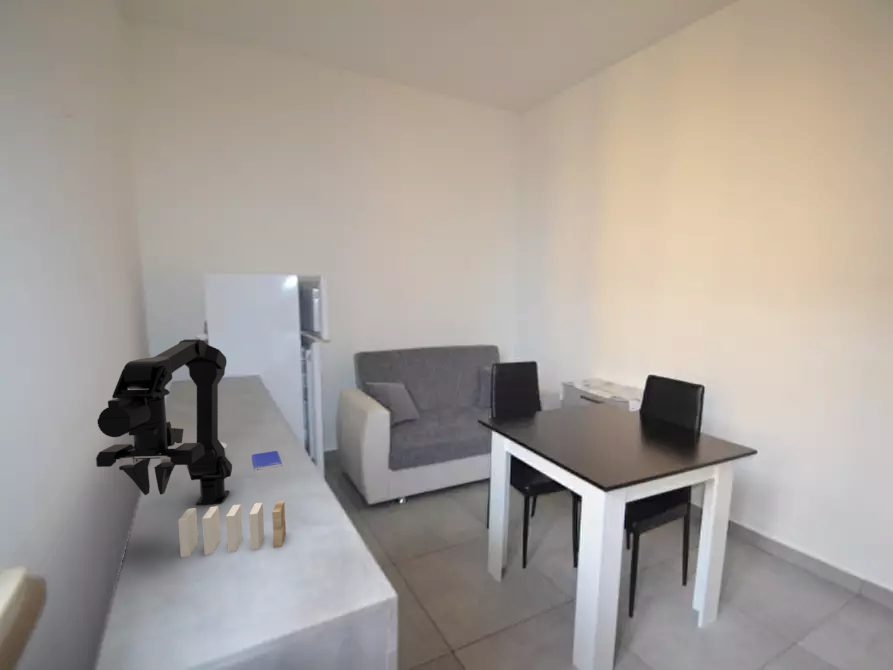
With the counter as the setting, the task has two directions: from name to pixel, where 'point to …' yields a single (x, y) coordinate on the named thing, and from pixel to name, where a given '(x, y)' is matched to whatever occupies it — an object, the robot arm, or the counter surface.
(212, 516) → the domino
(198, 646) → the counter surface
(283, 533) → the maple domino
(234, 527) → the domino
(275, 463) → the hard drive
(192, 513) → the domino
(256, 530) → the domino
